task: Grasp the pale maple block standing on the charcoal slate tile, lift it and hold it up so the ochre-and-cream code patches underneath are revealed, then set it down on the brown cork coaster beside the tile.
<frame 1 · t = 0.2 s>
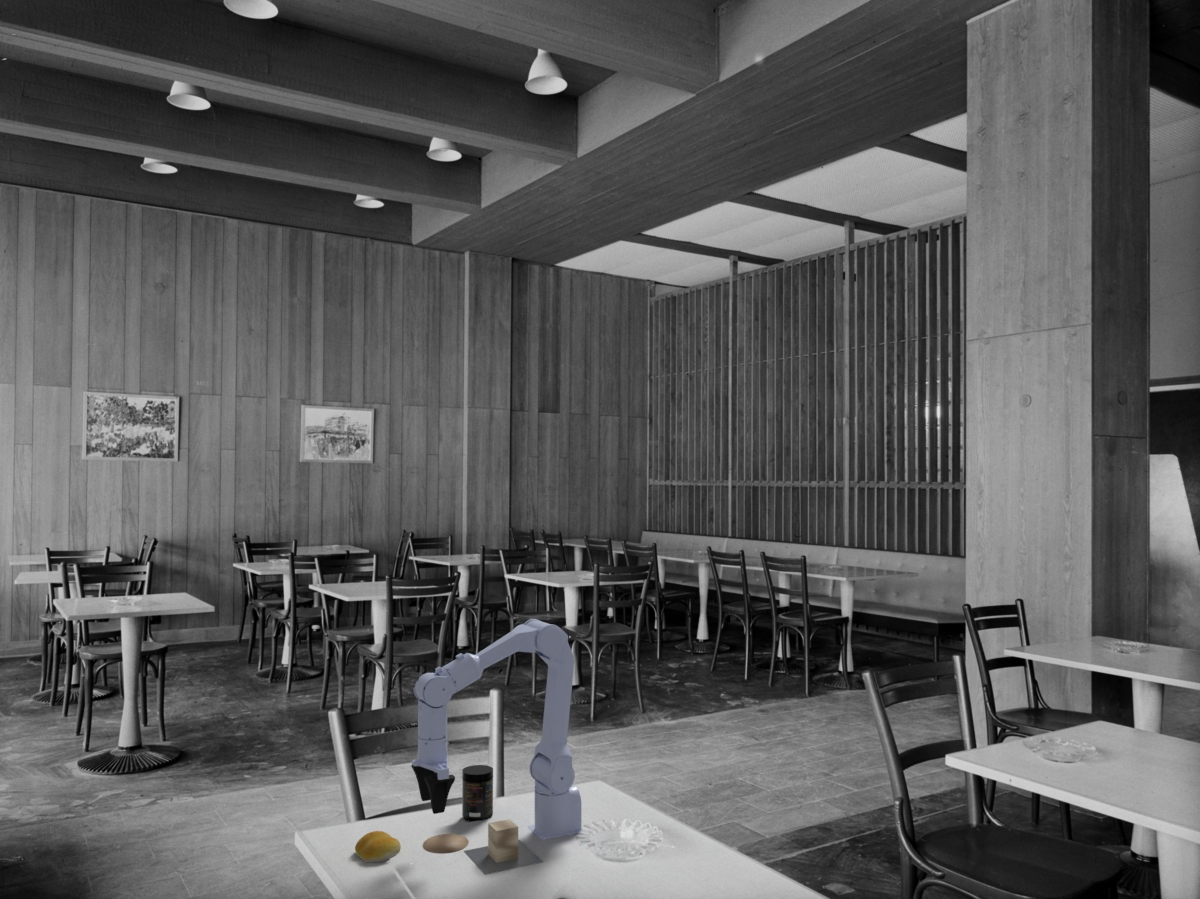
hand: (432, 806, 178), 10 cm above the table, fingers open, 7 cm apart
cork coaster: (445, 846, 184), on the table
bread roll: (377, 855, 180), on the table
maple block: (503, 856, 177), point 1 cm above the table, touching code tile
code tile: (503, 859, 177), on the table
supplement container: (477, 818, 199), on the table
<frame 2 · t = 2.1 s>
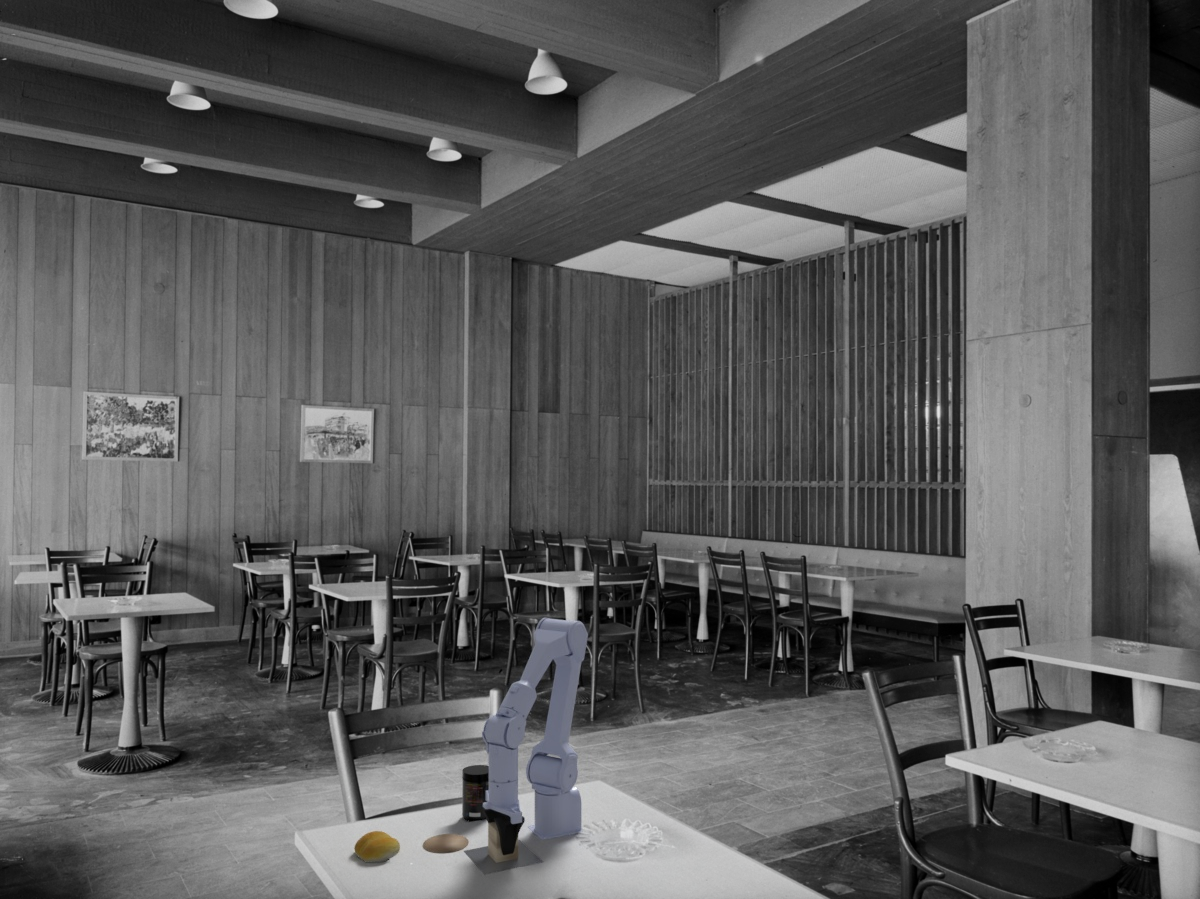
hand: (503, 848, 177), 2 cm above the table, fingers closed on maple block, 4 cm apart
maple block: (503, 856, 177), point 1 cm above the table, touching code tile, gripper
everything else where it was.
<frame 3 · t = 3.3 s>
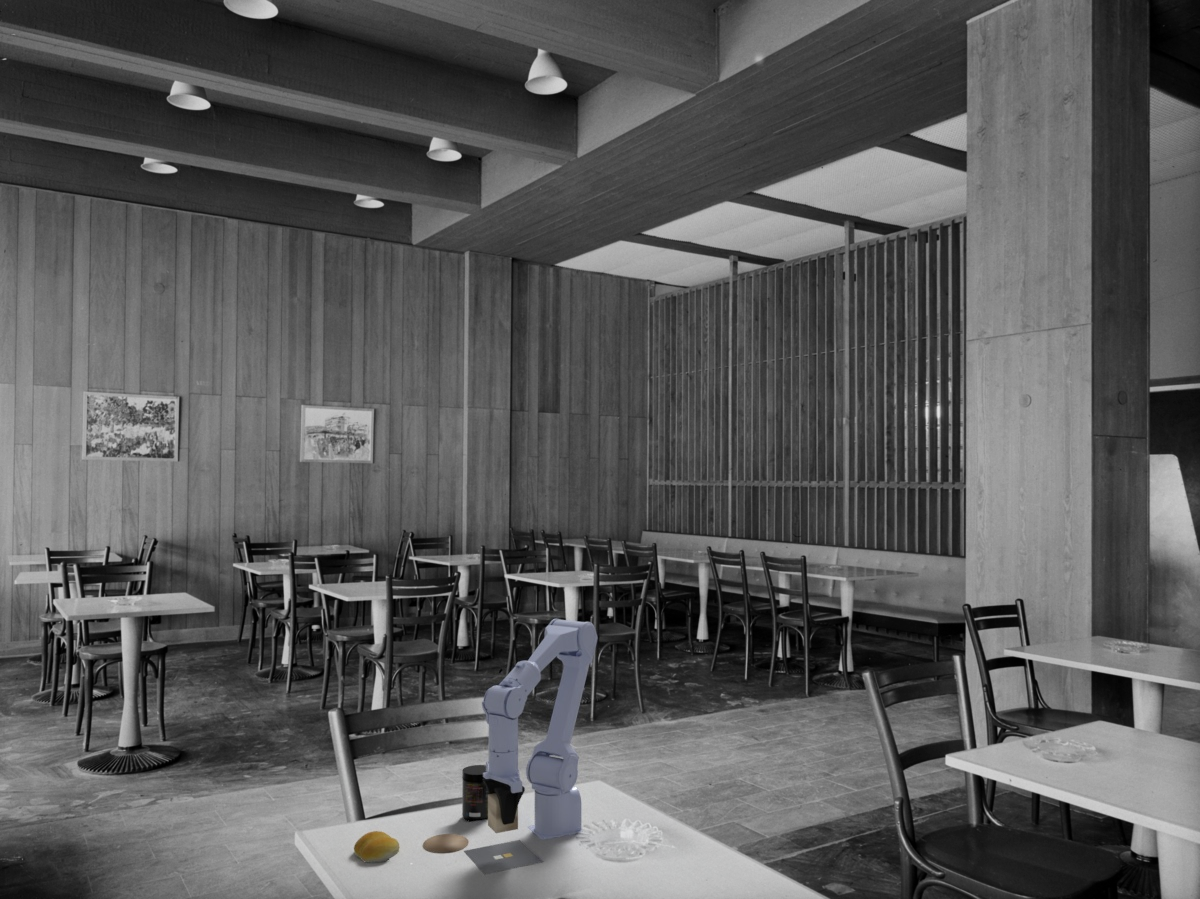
hand: (503, 818, 178), 8 cm above the table, fingers closed on maple block, 4 cm apart
maple block: (502, 827, 178), point 6 cm above the table, touching gripper
everything else where it was.
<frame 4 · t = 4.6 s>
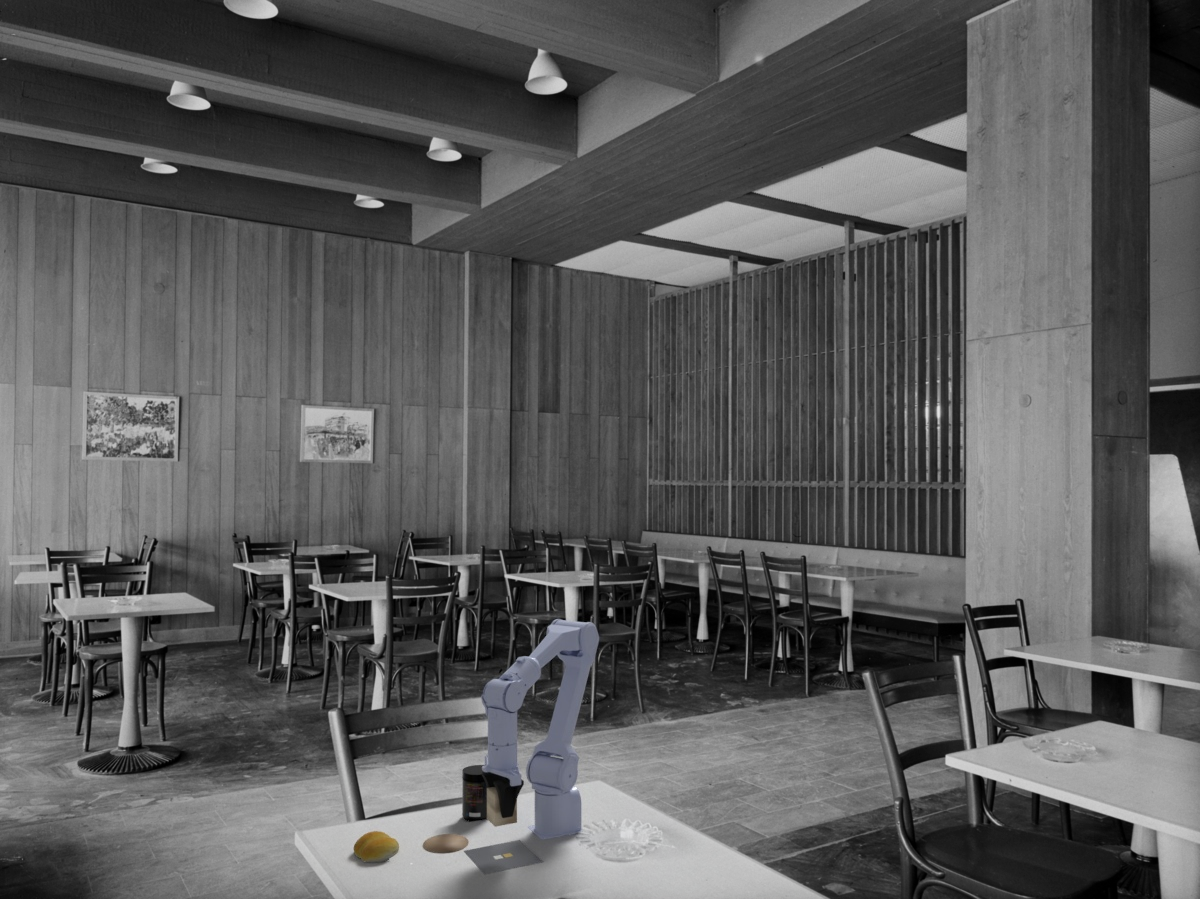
hand: (502, 812, 178), 9 cm above the table, fingers closed on maple block, 4 cm apart
maple block: (501, 820, 178), point 7 cm above the table, touching gripper
everything else where it was.
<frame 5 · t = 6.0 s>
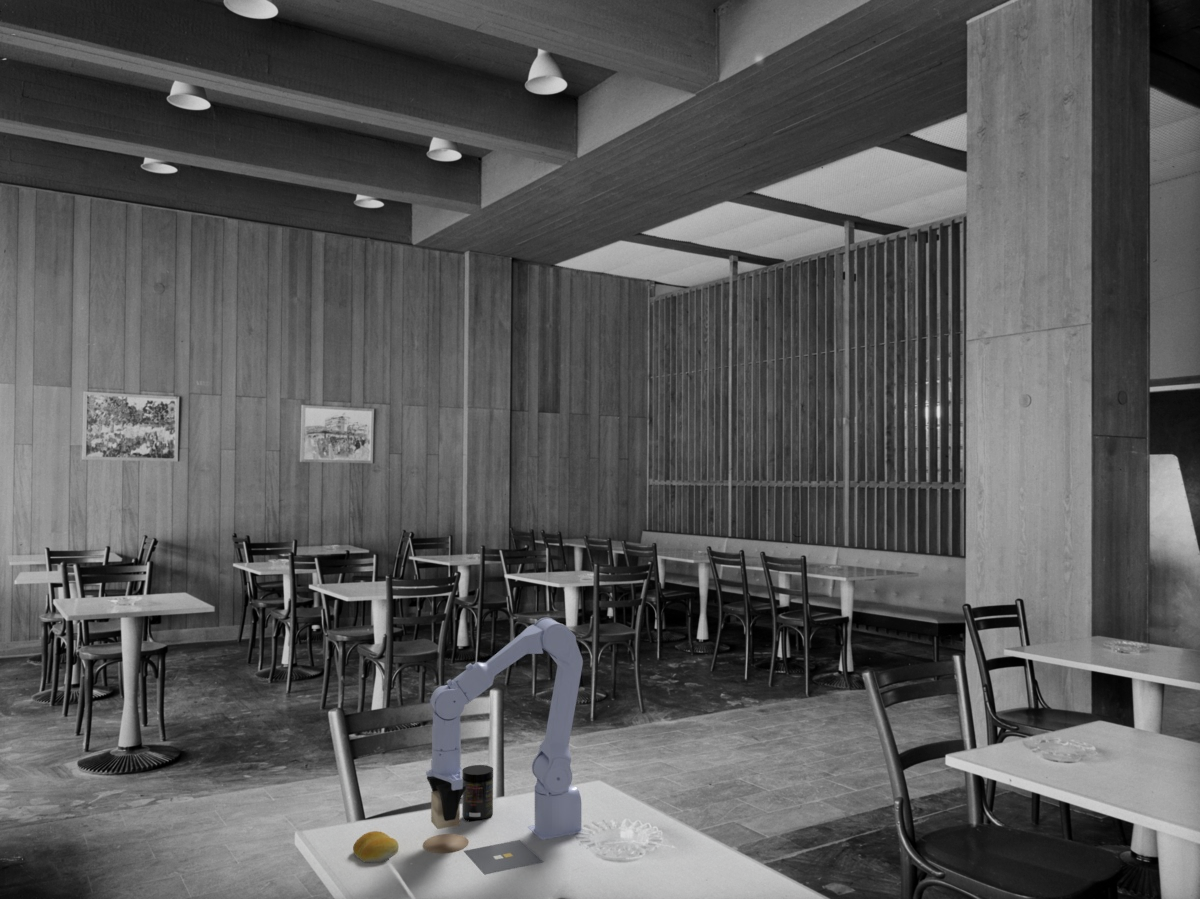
hand: (445, 815, 184), 6 cm above the table, fingers closed on maple block, 4 cm apart
maple block: (445, 823, 184), point 5 cm above the table, touching gripper
everything else where it was.
when the fingers open (3 cm above the table, at t = 7.0 s): maple block stays where it is, resting on cork coaster.
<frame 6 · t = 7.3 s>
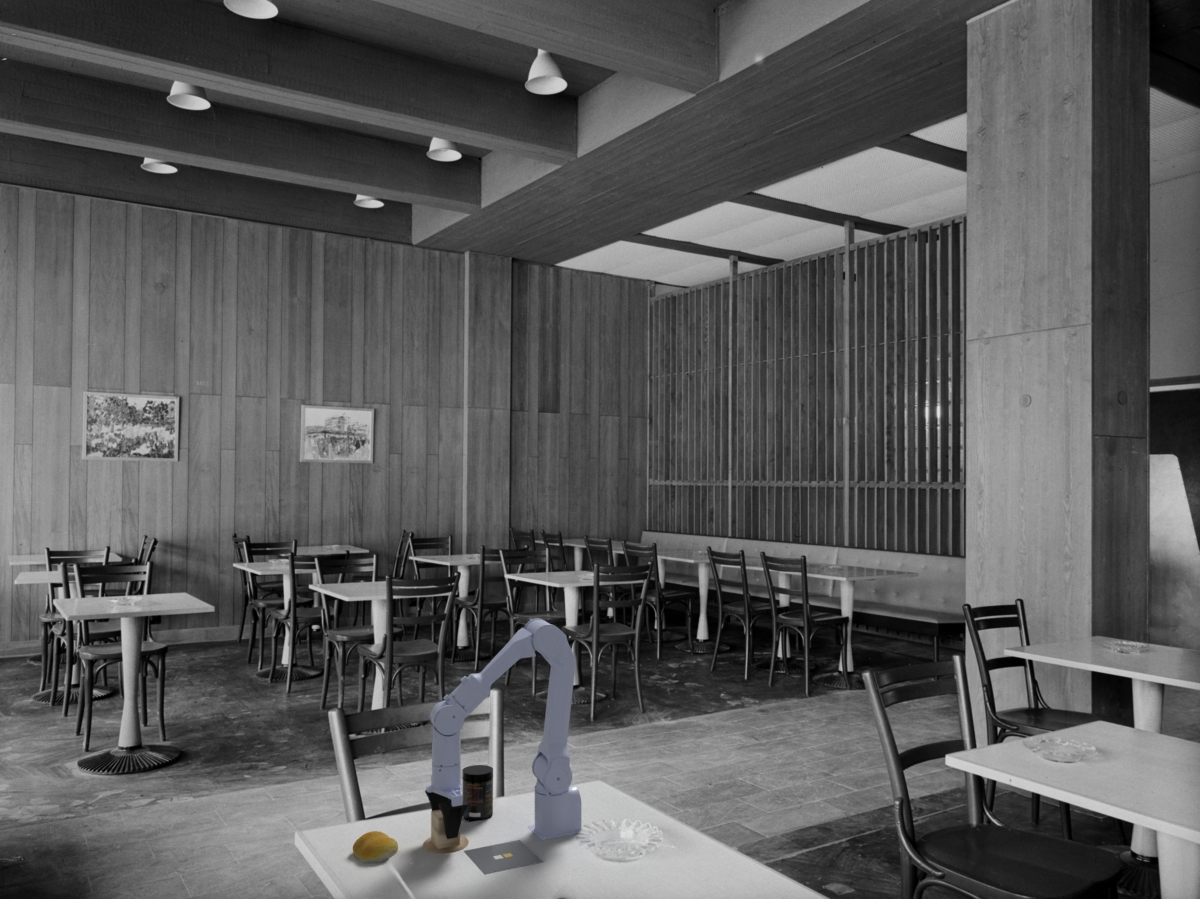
hand: (446, 831, 184), 3 cm above the table, fingers open, 7 cm apart
maple block: (445, 842, 184), point 1 cm above the table, touching cork coaster
everything else where it was.
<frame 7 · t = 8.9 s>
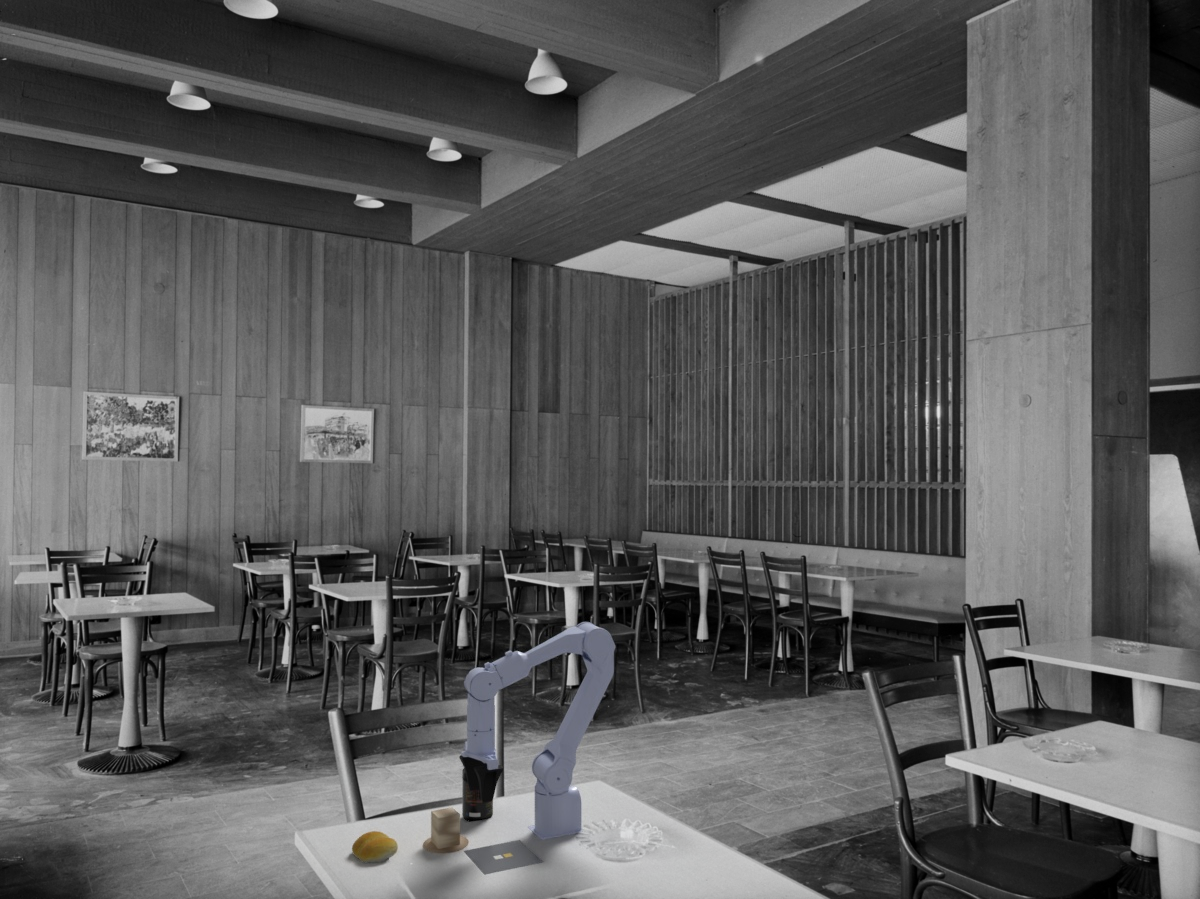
hand: (480, 795, 186), 9 cm above the table, fingers open, 7 cm apart
nothing on the table moved.
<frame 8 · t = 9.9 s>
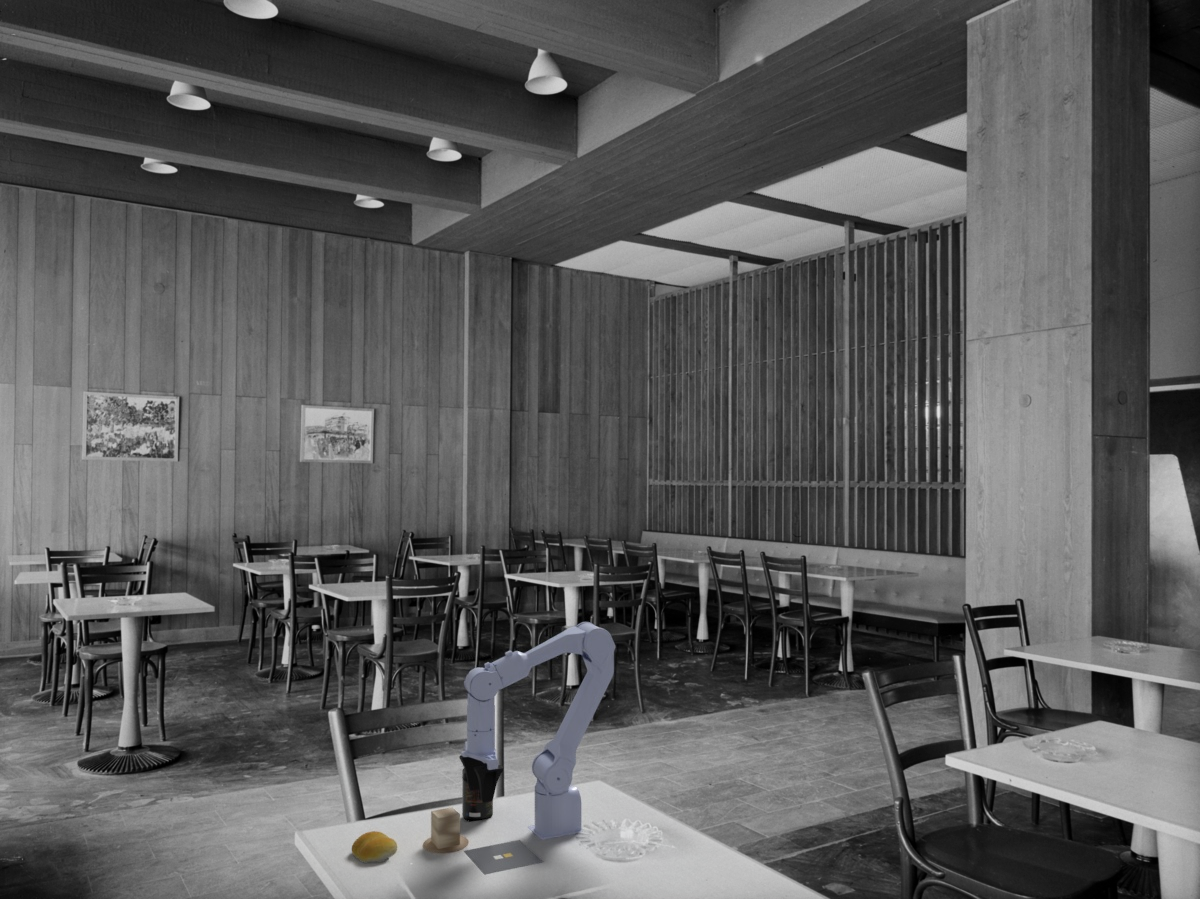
hand: (480, 795, 186), 9 cm above the table, fingers open, 7 cm apart
nothing on the table moved.
at the end: maple block 0.1 cm off-centre on the cork coaster, point 0.8 cm above the cork coaster's base; maple block tilted 0°; maple block touching cork coaster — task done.
